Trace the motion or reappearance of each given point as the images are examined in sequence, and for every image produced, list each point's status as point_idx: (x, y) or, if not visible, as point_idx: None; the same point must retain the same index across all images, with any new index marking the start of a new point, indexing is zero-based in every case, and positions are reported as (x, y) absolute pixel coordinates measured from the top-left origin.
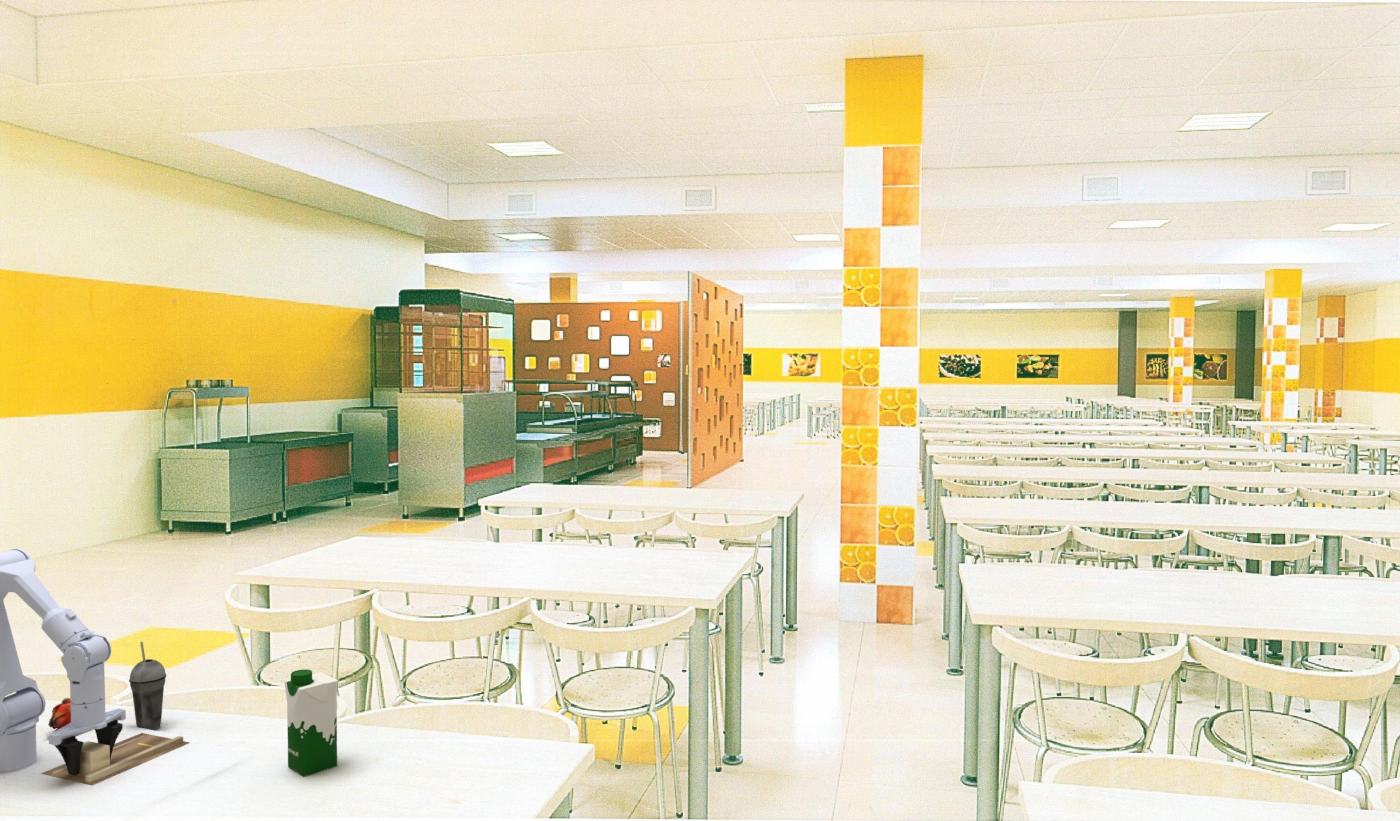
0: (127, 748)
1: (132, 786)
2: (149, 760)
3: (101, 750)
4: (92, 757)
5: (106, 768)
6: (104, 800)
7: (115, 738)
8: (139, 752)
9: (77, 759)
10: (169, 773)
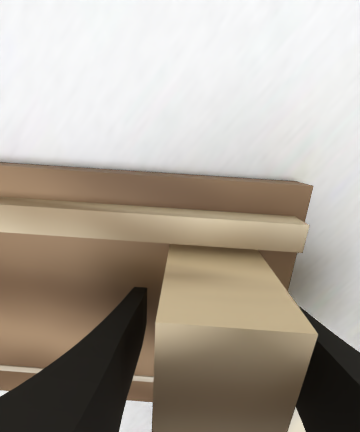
0: (10, 332)
1: (208, 71)
2: (31, 167)
3: (220, 315)
4: (284, 302)
5: (210, 228)
6: (352, 67)
7: (65, 363)
8: (6, 270)
9: (344, 349)
10: (48, 19)
